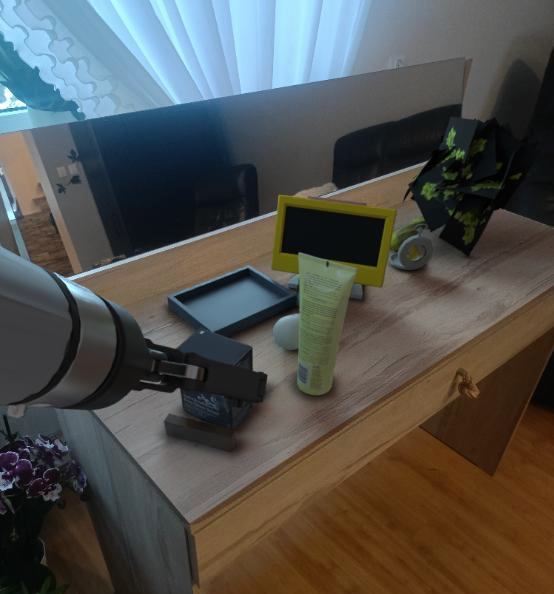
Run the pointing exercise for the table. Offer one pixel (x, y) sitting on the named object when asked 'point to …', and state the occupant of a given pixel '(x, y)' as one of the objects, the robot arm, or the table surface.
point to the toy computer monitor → (333, 237)
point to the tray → (232, 301)
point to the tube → (321, 320)
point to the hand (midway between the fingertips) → (183, 377)
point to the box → (226, 352)
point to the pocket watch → (413, 252)
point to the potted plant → (467, 181)
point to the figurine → (287, 332)
